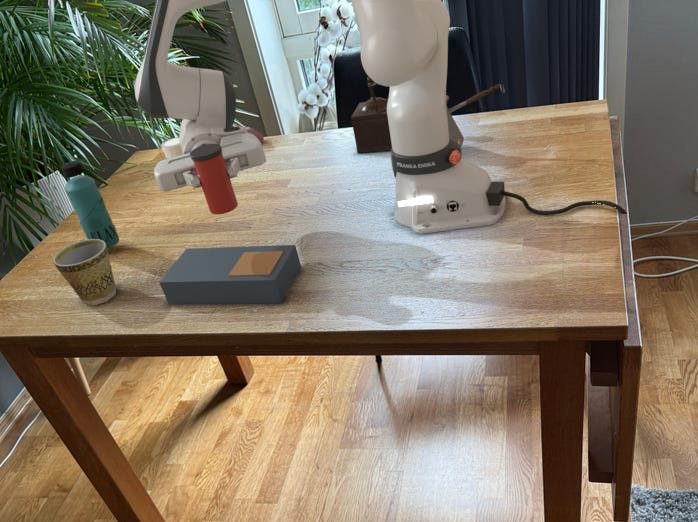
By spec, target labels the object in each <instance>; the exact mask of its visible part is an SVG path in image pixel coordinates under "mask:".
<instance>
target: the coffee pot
mask: <svg viewBox="0 0 698 522" xmlns="http://www.w3.org/2000/svg"><path fill="white" fill-rule="evenodd" d="M499 89H500V90H501V93H503V94H505V91H506V90H505V87H504V85H503V84H502V83H498V84H496V85H494V86H490V87H489V89H486V90H485V89H484V90H482V91H480V92H478V93H477V94H474V95H473V96H471V97H469V98H468V99H466V100H465V101H463V102H460V103H458V104H457V105H454V106H452V107H450V108H449V107H448V106H447V105H448V101H449V100H450V96H449V95H447V94H446V109H447V120H448V131H449V138H450V139H452V140H453V141H455V142H456V143H457V142H458V139H460V145H461V147H462V146H463V144H464V135H463V133H462V132H461V130H460V127H459V126H458V124H457V122H456V121H455V118H454V117H453V115H452V113H453V112H455V111H457V110H459V109H461V108H463V107H465V106H466V105H469V104H471V103H474V102H476V101H478V100H480V99H483V98H485V97H486V96H487V95H489V94H491V93H494V92H495V91H496V90H499Z"/></svg>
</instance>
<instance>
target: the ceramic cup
mask: <svg viewBox="0 0 698 522" xmlns="http://www.w3.org/2000/svg"><path fill="white" fill-rule="evenodd" d="M52 262H53V264H54V265H55V268H56V269H57V270H58V272H59V273H60V274H61V276H62V277H63V278H64V280H65V281H66V282H67V283H68V284H69V286H70V288H72V290H73V291H74V293H75V294H76V295H77V296H78V298H79V299H80V300H81V301H82V303H83V304H86V305H90V306H97V305H100V304H104V303H107V302H108V301H110V300H111V299H112V298H113V297H115V296H116V294H117V286H116V280H115V278H114V274H113V270H112V266H111V259H110V254H109V249H107V246H106V243H105V242H104V241H103V240H100V239H81V240H79V241H77V242H74V243H71V244H69V245H67V246H65V247H63V248H62V249H60V250H59V251H58V252H57V253H56V254H55V255H54V256H53V259H52Z"/></svg>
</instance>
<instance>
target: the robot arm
mask: <svg viewBox="0 0 698 522" xmlns="http://www.w3.org/2000/svg"><path fill="white" fill-rule="evenodd" d="M224 2H227V0H155V3H154V6H153V11H152V15H151V20H150V24H149V29H148V34H147V38H146V42H145V48H144V53H143V57H142V61H141V65H140V67H139V69H138V71H137V74H136V78H135V82H134V96H135V100H136V104H137V105H138V107H139V108H140V109H141V110H142V111H143V112H144V113H145V114H146V115H147V116H149V117H150V118H151V119H177V120H178V119H179V120H182V121H181V123H180V126H179V131H178V137H179V139H180V145H181V148H182V153H183V154H182V155H179V156H175V157H171V158H168V159H167V158H165V159H162V160H161V161H158V162H157V163H156V165H155V167H154V168H153V175H154V178H155V181H156V184H157V186H158V189H159V191H160V192H164V193H165V192H170V191H174V190H178V189H180V188H184V187H187V186H189V187H192V189H194V190H195V189H198V188H199V189H200V188H202V185H201V183H200V179H199V177H198V174H197V171H196V169H195V166H194V163H193V160H192V159H191V157H190V152H191V151H192V150H194V149H195V148H197V147H200V146H203V145H207V144H219V145H220V146H221V148H222V154H223V158H224V161H225V164H226V167H227V171H228V174H229V178H230V180H231V179H234V178H237V177H238V176H239V175H238V173H240V172H241V171H245V170H248V169H252V168H256V167H259V166H263V165H264V164H266V162H267V158H266V154H265V149H264V147H263V144H262V142H260V141H259V140H258V139H257V137H256V136H254V135H253V134H251V133H248V131H247V129H246V127H247V126H244V125H239V126H240V127H235V126H234V123H235V119H236V114H237V113H236V112H237V98H236V97H237V96H236V91H235V87H234V84H233V83H232V81H231V79H230V78H229V77H228V75H227V74H226V73H225V72H224V71H223V70H222V71H221V70H217V69H210V68H203V67H192V66H185V65H178V64H173V63H170V62H168V56H169V52H170V48H171V44H172V41H173V35H174V31H175V27H176V25H177V22H178V21H179V19H180V18H181V17H182V16H183V15H185V14H186V13H189V12H192V11H194V10H196V9H201V8H206V7H210V6H214V5H219V4H222V3H224ZM350 2H351V5H352V9H353V13H354V16H355V21H356V24H357V28H358V33H359V37H360V61H361V65H362V68H363V70H364V72H365V74H366V75H367V76H368V77H370V78H371V79H372V82H376V83H378V84H379V85H380V86H383V87H389V92H388V103H387V116H388V123H389V129H390V136H391V143H392V149H391V151H390V162H391V163H390V164H391V169H392V172H393V176H394V178H395V207H394V213H393V217H394V219H395V221H396V222H397V223H399V224H400V225H402V226H405V227H408V228H410V229H411V230H412V231H414V232H415V233H416V234H420V235H423V234H431V233H438V232H446V231H454V230H461V229H467V228H476V227H484V226H491V225H493V224H495V223H497V222H498V221H500V219H501V218H502V217H503V215H504V213H505V212H506V211H505V210H506V204H507V203H506V197H508V198H512V199H516V200H517V201H520V202H521V203H522V204H523V206H524V208H525V209H526V210H527V211H528V212H529V213H532V214H535V215H539V216H552V215H553V216H554V215H560V214H564V213H566V212H569V211H571V210H573V209H575V208H578V207H585V206H586V207H587V206H607V207H611V208H613V209H615V210H617V211H618V212H619V213H621V214H622V215H627V214H628V212H627V211H626V210H625V209H624V208H623V207H622V206H620V205H618V204H617V203H615V202H612V201H609V200H603V199H602V200H600V199H598V200H583V201H578V202H574V203H572V204H570V205H567V206H565V207H563V208H559V209H553V210H552V209H551V210H539V209H536V208H533V207H531V206H530V204H529V203H528V201H527V199H526V198H524V197H523V196H522V195H519V194H517V193H514V192H510V191H506V188H505V181H492V179H491V177H490V174H489V173H488V171H486V169H484V168H482V167H480V166H478V165H477V164H474V163H473V162H471V161H470V160H468V159H466V158H464V157H462V146H461V145H460V139H458V142H457V143H456V142H455V141H453V140H452V139H450V138H449V131H448V120H447V109H446V95H447V80H448V59H449V58H448V55H449V54H448V53H449V34H450V26H451V17H450V13H449V10H448V8H447V6H446V4H445V3H444V2H443V0H350ZM592 202H594V203H592ZM595 202H596V203H595ZM597 203H601V204H597ZM603 204H605V205H603ZM614 207H616V208H614Z"/></svg>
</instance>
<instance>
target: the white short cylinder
mask: <svg viewBox="0 0 698 522" xmlns="http://www.w3.org/2000/svg"><path fill="white" fill-rule="evenodd" d="M160 146H161V149H162V151H163V154H164V155H165V159H168V158H171V157H175V156H179V155H182V154H183V153H182V148H181V145H180V139H179V136H177V137H172V138H169V139H166V140H164V141H163V142H161V144H160Z"/></svg>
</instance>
